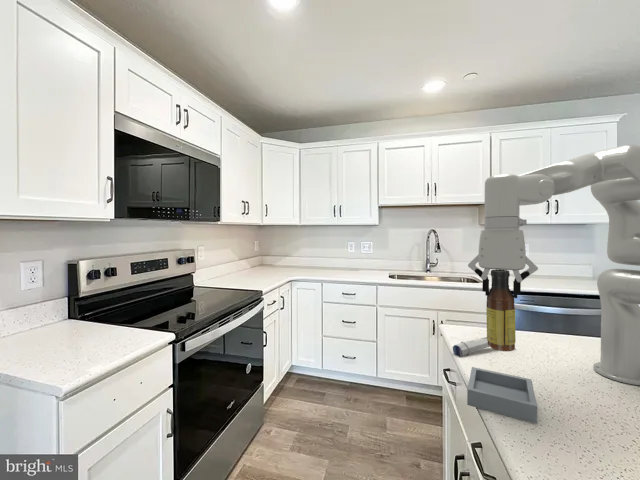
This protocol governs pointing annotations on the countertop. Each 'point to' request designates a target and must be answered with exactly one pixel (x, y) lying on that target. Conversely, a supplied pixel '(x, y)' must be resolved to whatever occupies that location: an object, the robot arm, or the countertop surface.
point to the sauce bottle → (500, 313)
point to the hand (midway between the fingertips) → (500, 295)
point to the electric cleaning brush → (470, 346)
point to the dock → (502, 394)
